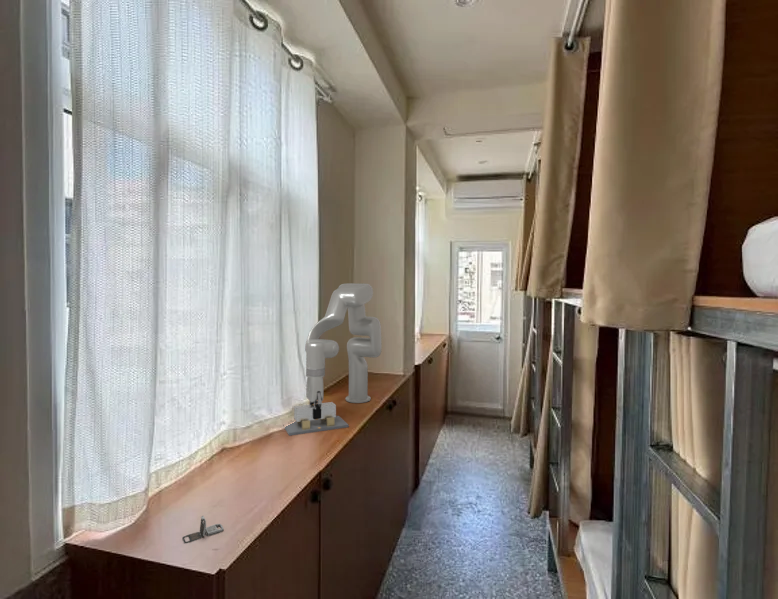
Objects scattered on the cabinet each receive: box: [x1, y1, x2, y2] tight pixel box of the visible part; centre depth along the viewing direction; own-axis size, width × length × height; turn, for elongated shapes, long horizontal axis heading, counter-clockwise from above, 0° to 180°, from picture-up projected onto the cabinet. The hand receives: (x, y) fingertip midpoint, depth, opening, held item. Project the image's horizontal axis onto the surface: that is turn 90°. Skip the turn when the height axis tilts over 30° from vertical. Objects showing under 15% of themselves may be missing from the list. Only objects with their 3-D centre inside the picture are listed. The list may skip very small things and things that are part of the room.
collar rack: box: [284, 415, 350, 436], centre depth 170 cm, size 13×24×4 cm, turn 115°
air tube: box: [293, 401, 337, 422], centre depth 170 cm, size 5×16×5 cm, turn 115°
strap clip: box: [182, 515, 225, 544], centre depth 96 cm, size 8×3×4 cm, turn 126°
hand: (315, 416), depth 170 cm, fingers closed on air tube, 5 cm apart
